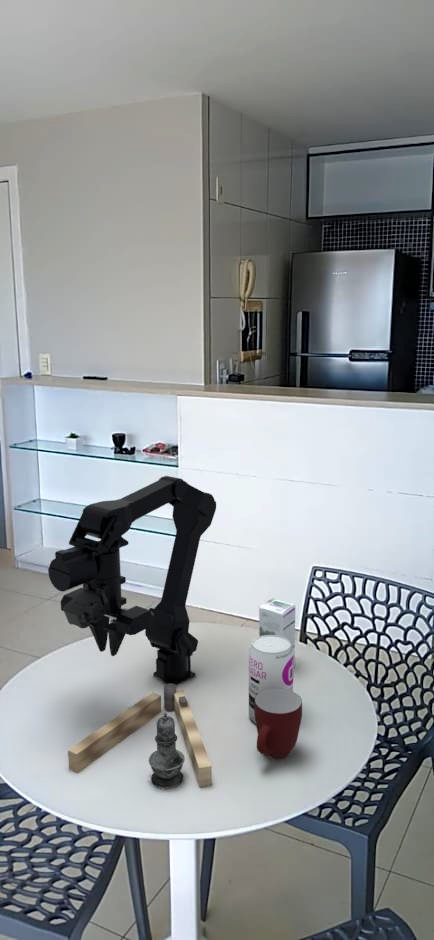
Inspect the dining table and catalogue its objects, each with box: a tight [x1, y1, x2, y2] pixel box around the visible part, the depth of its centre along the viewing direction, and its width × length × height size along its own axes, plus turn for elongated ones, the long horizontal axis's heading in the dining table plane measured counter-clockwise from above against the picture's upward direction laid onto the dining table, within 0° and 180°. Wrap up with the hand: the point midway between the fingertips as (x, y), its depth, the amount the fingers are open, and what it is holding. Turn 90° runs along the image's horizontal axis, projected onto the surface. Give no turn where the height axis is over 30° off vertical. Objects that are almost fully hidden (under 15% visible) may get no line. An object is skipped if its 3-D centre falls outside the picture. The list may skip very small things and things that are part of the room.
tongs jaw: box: [67, 691, 162, 774], centre depth 130 cm, size 22×2×4 cm, turn 145°
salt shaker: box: [148, 711, 186, 790], centre depth 118 cm, size 6×6×12 cm
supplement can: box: [248, 635, 295, 724], centre depth 135 cm, size 8×8×15 cm
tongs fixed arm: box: [163, 683, 213, 788], centre depth 129 cm, size 25×4×4 cm, turn 13°
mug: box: [254, 688, 303, 760], centre depth 124 cm, size 11×8×10 cm
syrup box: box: [258, 598, 296, 667], centre depth 153 cm, size 6×6×14 cm
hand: (108, 653), depth 136 cm, fingers open, 3 cm apart
